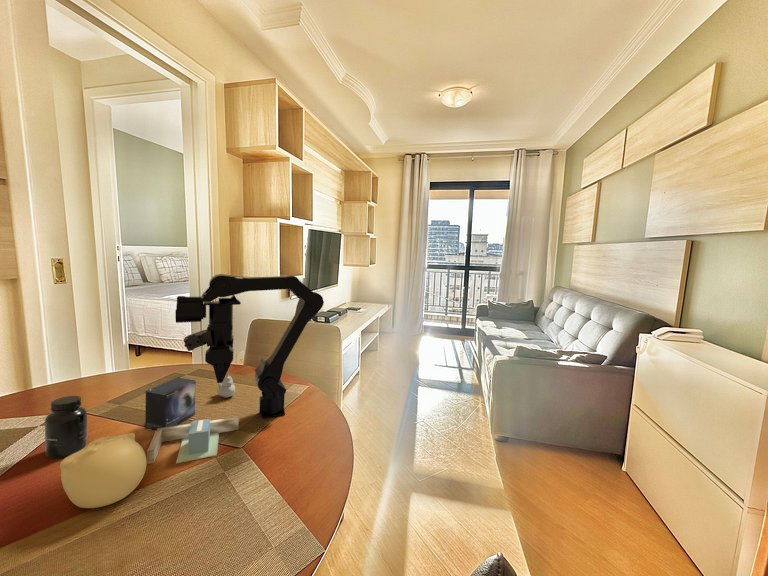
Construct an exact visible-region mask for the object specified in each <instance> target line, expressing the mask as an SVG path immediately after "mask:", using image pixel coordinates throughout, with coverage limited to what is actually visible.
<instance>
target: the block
mask: <svg viewBox="0 0 768 576" xmlns="http://www.w3.org/2000/svg"><path fill="white" fill-rule="evenodd" d="M210 421H211V418H206V419H199V420H198V419H197V420H192V421H191V422H190V424H191V426H190V430H189V443H188V455H190V454H196V453H201V452H207V451H208V450H209V442H210Z"/></svg>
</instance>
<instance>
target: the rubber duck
mask: <svg viewBox="0 0 768 576" xmlns="http://www.w3.org/2000/svg"><path fill="white" fill-rule="evenodd" d="M233 382H234V380H233V378H232V376H231V375H230V374H229V373H226V375H225V378H224V380H223V382H222V383H217V387H218V388H217V395H218V396H219V397H222V398H230V397H232V396H234V395H235V394H236V385H235V384H234V383H233Z"/></svg>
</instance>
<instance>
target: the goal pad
mask: <svg viewBox="0 0 768 576" xmlns="http://www.w3.org/2000/svg"><path fill="white" fill-rule="evenodd" d="M219 435H220V433H219V432H218V433H212V434H210V442H209V450H208V451H207V452H201V453H196V454H190V455H188V443H189V437H187V438H182V439H181V444H180V447H179V451H178V454H177V456H176V457H177V458H176V461H175V464H181V463H186V462H191V461H195V460H196V461H197V460H202V459H207V458H212V457H217V455H218V447H219V438H220V437H219Z"/></svg>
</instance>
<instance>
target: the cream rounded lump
mask: <svg viewBox="0 0 768 576" xmlns="http://www.w3.org/2000/svg"><path fill="white" fill-rule="evenodd" d="M135 436H136V435H135V433H132V432H129V433H124V434H123V433H122V434H118V435H117V434H116V435H113V436H101V437H97V438H95V439H94V440H92V441H90V442H89V443H87V445H86V446H85V448H83V449H82V450H80V451H78V452H76V453H74V454H72V455H70V456H67V457H64V459H63V460H62V461H61V462H60V463H59V467H60V468H59V469H60V471H61V472H60V476H61V477H60V478H61V480H60V481H61V483H62V487H63V490H64V492H65V493H66V495H67V497H68V499H69V500H70V502H72V504H73V505H75V506H76V507H78V508H82V509H95V508H102V507H106V506H109V505H112V504H114V503H116V502H119V501H121V500H123V499H124V498H126V497H127V496H129V495H130V494H131V493H132V492H133V491H135V490H136V488H137V487H139V484H140V483H141V481H142V479H143V478H144V476H145V473H146V470H147V465H148V464H147V454H146V452H145V450H144V448H143V447H142V446H141V445H140V444H139V443H138V442H136V440H135Z"/></svg>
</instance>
